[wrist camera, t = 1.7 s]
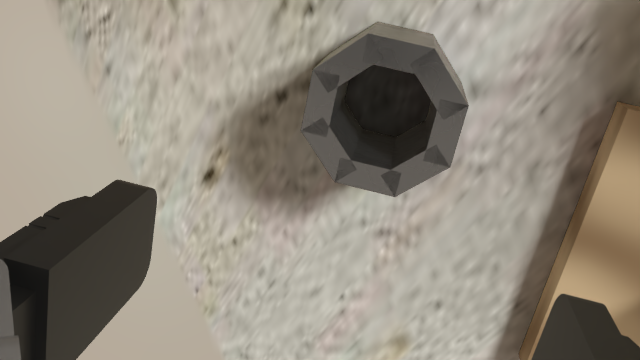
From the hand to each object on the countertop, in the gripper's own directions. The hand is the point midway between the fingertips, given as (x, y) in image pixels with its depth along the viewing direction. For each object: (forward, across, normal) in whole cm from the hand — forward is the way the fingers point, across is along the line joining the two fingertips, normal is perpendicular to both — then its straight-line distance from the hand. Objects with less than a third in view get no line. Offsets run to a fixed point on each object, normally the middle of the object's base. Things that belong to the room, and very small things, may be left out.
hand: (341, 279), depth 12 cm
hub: (+18, 0, 0) cm, 18 cm away
